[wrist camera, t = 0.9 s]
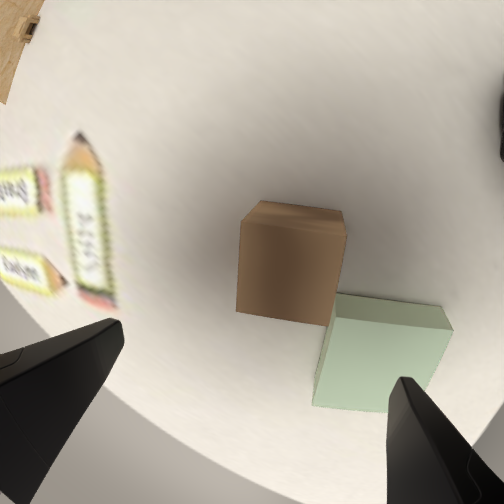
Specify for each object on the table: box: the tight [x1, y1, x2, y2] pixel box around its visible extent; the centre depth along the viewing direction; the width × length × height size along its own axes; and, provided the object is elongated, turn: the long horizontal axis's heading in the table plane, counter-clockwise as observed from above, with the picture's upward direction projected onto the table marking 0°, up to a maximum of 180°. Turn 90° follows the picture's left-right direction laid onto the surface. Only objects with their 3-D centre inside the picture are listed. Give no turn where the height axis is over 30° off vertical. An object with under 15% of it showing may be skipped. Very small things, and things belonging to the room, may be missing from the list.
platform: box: [312, 293, 454, 413], centre depth 20 cm, size 8×8×3 cm
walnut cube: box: [236, 201, 347, 327], centre depth 18 cm, size 5×5×5 cm
